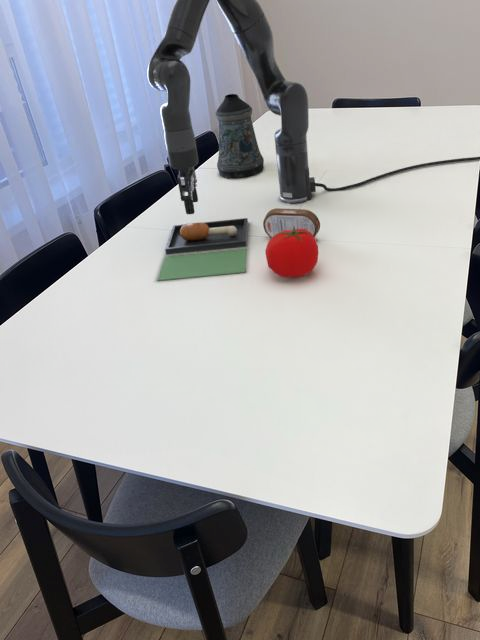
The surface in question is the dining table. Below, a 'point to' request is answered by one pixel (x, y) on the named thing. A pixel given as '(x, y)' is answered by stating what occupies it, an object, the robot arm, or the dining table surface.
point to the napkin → (203, 264)
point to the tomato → (292, 253)
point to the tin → (290, 221)
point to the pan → (209, 238)
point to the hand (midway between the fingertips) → (192, 207)
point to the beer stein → (237, 140)
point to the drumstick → (204, 231)
